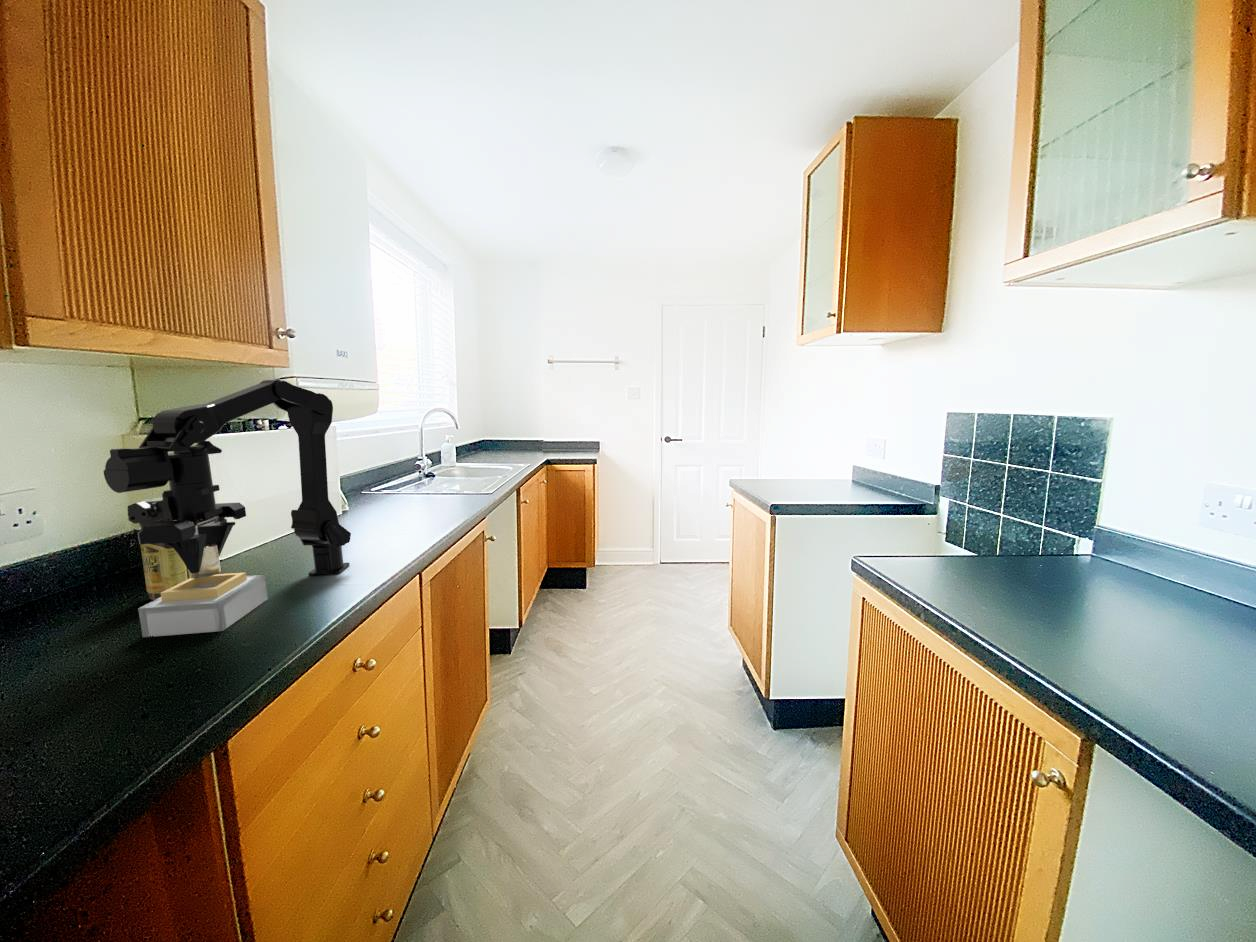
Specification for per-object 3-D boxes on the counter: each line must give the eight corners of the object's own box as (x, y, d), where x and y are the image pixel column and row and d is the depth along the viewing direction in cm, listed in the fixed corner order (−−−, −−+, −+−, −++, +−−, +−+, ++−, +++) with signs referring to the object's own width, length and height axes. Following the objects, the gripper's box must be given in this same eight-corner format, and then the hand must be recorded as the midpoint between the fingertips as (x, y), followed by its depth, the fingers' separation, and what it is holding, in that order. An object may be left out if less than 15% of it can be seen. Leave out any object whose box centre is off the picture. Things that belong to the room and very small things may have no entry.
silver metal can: (199, 570, 93) (195, 544, 93) (226, 569, 94) (222, 542, 93) (182, 579, 89) (178, 551, 88) (210, 577, 90) (206, 549, 89)
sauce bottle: (142, 598, 102) (126, 500, 99) (181, 588, 107) (166, 495, 104) (157, 604, 99) (141, 503, 96) (196, 593, 104) (182, 497, 101)
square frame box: (199, 604, 98) (194, 571, 98) (267, 599, 100) (263, 567, 99) (142, 637, 85) (136, 599, 84) (222, 630, 87) (217, 594, 86)
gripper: (177, 476, 97) (189, 555, 99) (91, 494, 79) (108, 591, 81) (242, 473, 99) (252, 552, 101) (172, 490, 80) (187, 586, 83)
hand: (204, 568), depth 91 cm, fingers closed on silver metal can, 4 cm apart
